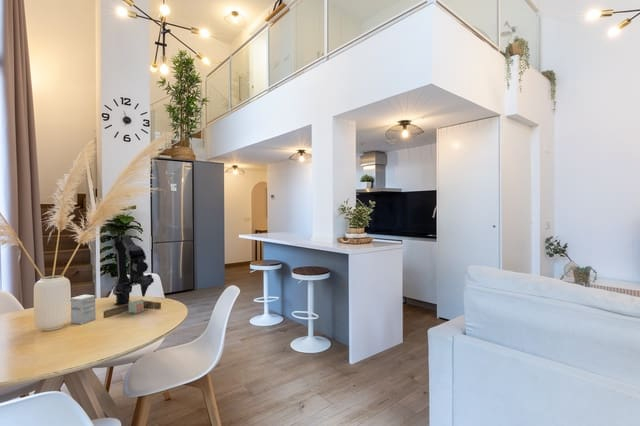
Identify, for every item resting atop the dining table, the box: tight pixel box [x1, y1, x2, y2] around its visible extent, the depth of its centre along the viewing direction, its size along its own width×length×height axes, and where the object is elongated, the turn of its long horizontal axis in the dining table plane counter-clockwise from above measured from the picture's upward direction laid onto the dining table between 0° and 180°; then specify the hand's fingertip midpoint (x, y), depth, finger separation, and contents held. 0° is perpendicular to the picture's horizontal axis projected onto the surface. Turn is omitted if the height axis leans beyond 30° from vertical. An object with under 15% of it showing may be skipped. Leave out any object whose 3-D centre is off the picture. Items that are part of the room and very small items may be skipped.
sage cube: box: [128, 299, 145, 313], centre depth 170 cm, size 5×5×5 cm
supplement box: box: [70, 294, 96, 325], centre depth 156 cm, size 7×7×13 cm
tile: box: [123, 308, 149, 315], centre depth 170 cm, size 8×8×1 cm
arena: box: [103, 299, 162, 319], centre depth 168 cm, size 16×22×4 cm
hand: (136, 298), depth 170 cm, fingers open, 9 cm apart
